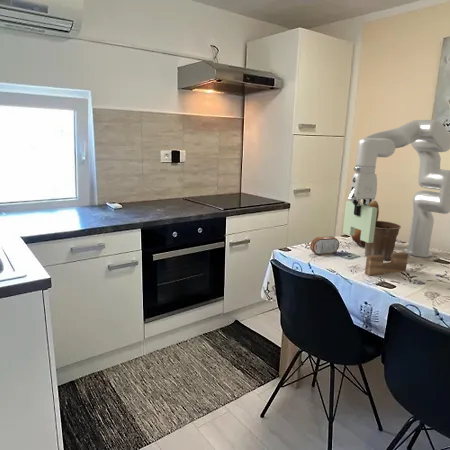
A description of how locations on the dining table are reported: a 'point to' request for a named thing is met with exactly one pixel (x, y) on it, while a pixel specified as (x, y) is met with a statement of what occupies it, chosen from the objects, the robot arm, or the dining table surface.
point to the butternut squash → (358, 232)
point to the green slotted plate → (360, 221)
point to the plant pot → (383, 239)
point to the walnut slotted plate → (386, 264)
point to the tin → (324, 245)
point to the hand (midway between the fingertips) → (359, 214)
